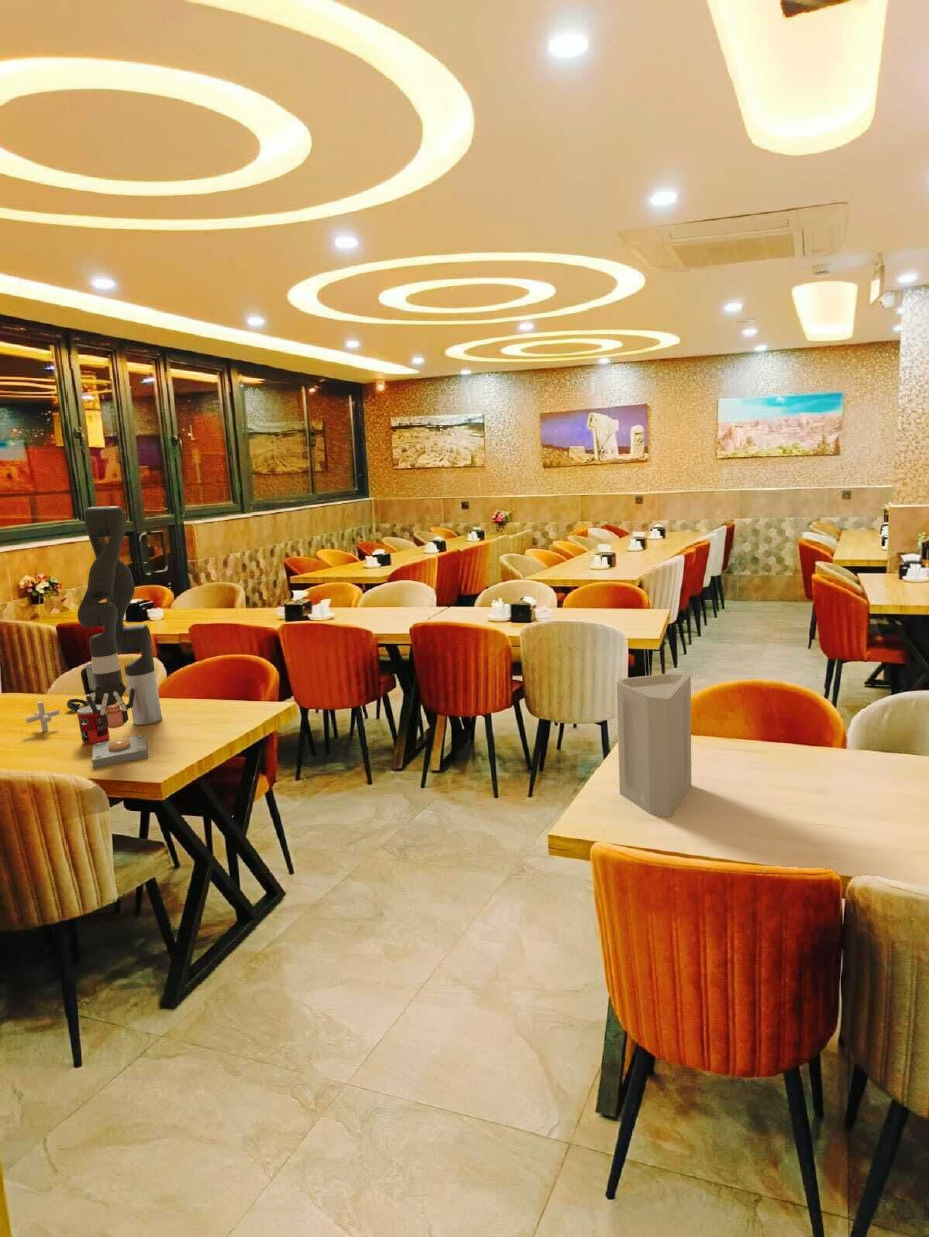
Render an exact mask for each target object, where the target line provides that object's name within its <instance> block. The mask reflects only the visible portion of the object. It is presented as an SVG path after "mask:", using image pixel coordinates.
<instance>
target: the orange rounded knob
mask: <svg viewBox="0 0 929 1237" xmlns="http://www.w3.org/2000/svg"><path fill="white" fill-rule="evenodd" d="M105 713H106V717H107V723H108V729H117V728H120V727H124V726H125V723H124V720H123V714H122V708H121V706H120V705H119V704H110V705H107V706H106V711H105Z"/></svg>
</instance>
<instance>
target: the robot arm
mask: <svg viewBox="0 0 929 1237" xmlns="http://www.w3.org/2000/svg"><path fill="white" fill-rule="evenodd" d="M83 517H84V518H83V519H84V525H85V529H86V532H87V535H88V536H87V537H88V538H89V541H90V543H91V547H92V550H93V553H94V555H95V560H94V561H93V562H92V564H91V566H90V568H89V572H88V578H87V589H86V591H85V592H84V595H83V597H82V600H81V602H80V605H79V607H78V610H77V620H78V622H79V624H80V625H81V627H83V628H88V629H89V628H99V627H100V628H101V627H103V631H102V632H101V633H97V634H95V635H92V636H90V637H89V639H88V643H89V649H90V650H89V651H90V654H91V655H90V656H91V663H92V670H93V674H94V680H95V686H96V690H95V692H94V693H92V694H87V695H86V694H85V700H86V701H88V703H87V704H88V706H90V707H91V709H92V711H93V713H94V714H100V715H101V718H102V724H103V725H105V727H106V726H108V723H107V717H106V710H107V705H106V704H107V703H111V702H115V703H118V705H120V709H121V710H122V714H123V720H124V724H127V721H129V713H128V710H129V709H131V710H130V711H131V715H132V721H133V722H132V723H133V724H134V725H137V726H145V725H150V724H154V723H157V722H159V721H161V720H162V719H163V715H162V709H161V701H160V695H159V689H158V681H157V676H156V670H155V663H154V662H155V661H154V654H153V646H152V637H151V636H152V635H151V631H150V628H149V626H148V625H147V624H133V625H124V617H125V614H126V612H127V609H128V607H129V605H130V603H131V602H132V599H133V598H134V595H135V591H136V587H135V584H134V579H133V574H132V571H131V569H130V568H129V566H128V565H127V564H126V563H125V562H124V561H123V559H121V558H120V557H119V556H120V553H121V550H122V545H123V542H124V538H125V534H126V529H127V528H126V527H127V516H126V512H125V511H124V509H123V508H122V507H121V506H116V505H114V506H113V505H112V506H92V507H91V506H89V507H88V508H86V509H85V511H84V516H83ZM108 537H109V539H108V541H107V540H106V538H108ZM104 600H106V601H104ZM101 601H104V602H101ZM137 653H139V654H140V653H141V656H140V657H138V658H137V659H136V660H133V661H131V662H129V663H127V664H126V665H125V666H124V672H125V681H126V685H127V687H126V686H125V684H124V682H123V681H124V680H123V673H122V669H121V661H120V658H119V654H121V655H126V654H127V655H128V654H137ZM125 692H127V693H126V694H127V695H128V703H125V701H124V699H123V696H124V694H125ZM95 696H97V697H98V698H99V699H100V700H102V705H101V709H97V707H96V705H95V703H94V700H95Z"/></svg>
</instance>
